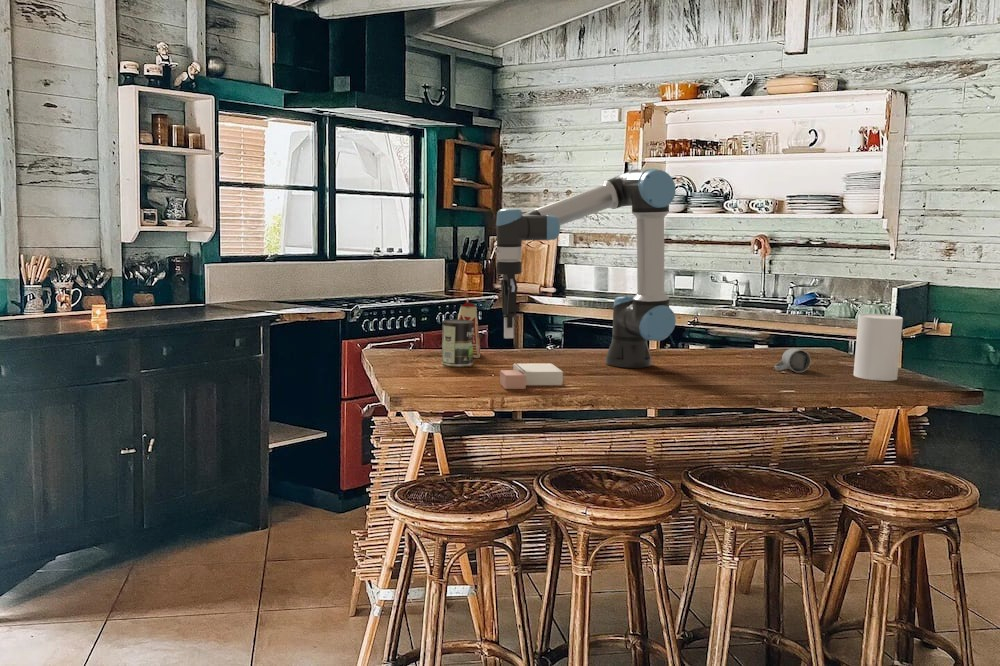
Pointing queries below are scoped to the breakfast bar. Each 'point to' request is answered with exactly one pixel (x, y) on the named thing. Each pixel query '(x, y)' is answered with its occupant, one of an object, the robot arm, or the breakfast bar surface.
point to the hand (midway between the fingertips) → (508, 337)
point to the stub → (512, 379)
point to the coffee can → (457, 342)
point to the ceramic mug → (794, 361)
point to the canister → (878, 347)
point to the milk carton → (470, 313)
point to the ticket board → (540, 373)
